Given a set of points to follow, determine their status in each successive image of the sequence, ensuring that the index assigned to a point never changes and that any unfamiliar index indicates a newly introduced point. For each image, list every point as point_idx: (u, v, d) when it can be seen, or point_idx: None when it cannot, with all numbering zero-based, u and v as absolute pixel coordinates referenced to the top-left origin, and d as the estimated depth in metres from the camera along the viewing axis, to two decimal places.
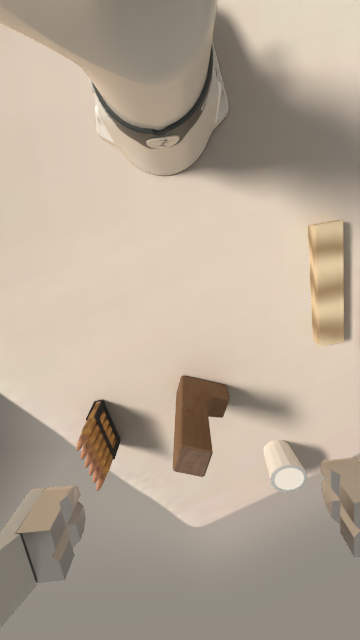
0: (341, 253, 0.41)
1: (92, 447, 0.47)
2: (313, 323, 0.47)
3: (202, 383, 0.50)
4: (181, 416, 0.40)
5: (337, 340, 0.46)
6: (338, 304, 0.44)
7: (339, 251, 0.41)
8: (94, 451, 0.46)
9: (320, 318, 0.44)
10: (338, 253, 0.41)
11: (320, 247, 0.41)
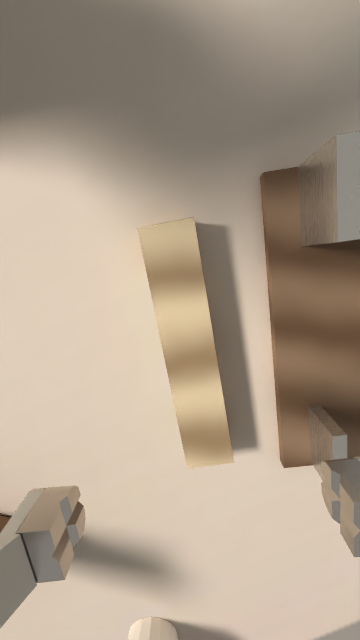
0: (201, 287, 0.19)
1: None
2: None
3: None
4: None
5: (220, 459, 0.23)
6: (211, 390, 0.21)
7: (196, 283, 0.19)
8: None
9: (179, 417, 0.22)
10: (195, 286, 0.19)
11: (155, 274, 0.19)
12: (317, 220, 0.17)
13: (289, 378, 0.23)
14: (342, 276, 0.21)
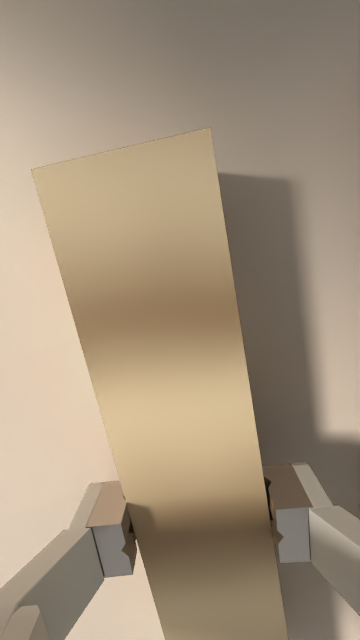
0: (232, 347, 0.07)
1: None
2: None
3: None
4: None
5: None
6: (254, 595, 0.08)
7: (218, 335, 0.07)
8: None
9: None
10: (213, 345, 0.07)
11: (95, 311, 0.07)
12: None
13: None
14: None
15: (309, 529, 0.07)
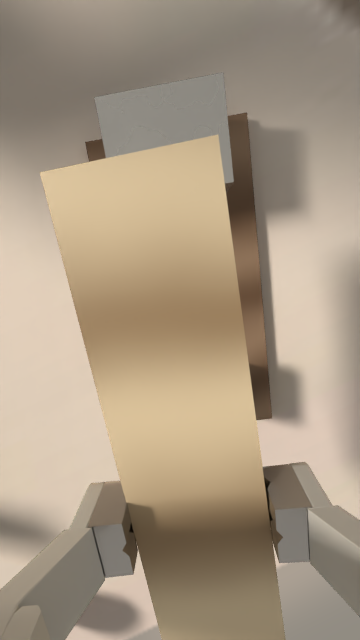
0: (235, 352, 0.07)
1: None
2: None
3: None
4: None
5: None
6: (252, 600, 0.08)
7: (221, 340, 0.07)
8: None
9: None
10: (217, 349, 0.07)
11: (100, 314, 0.07)
12: None
13: None
14: None
15: (308, 529, 0.07)
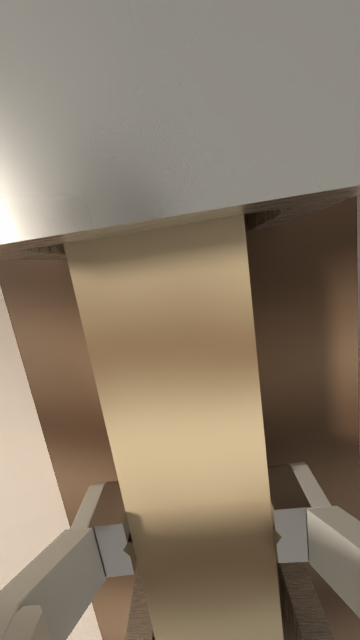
0: (247, 384, 0.07)
1: None
2: None
3: None
4: None
5: None
6: (255, 629, 0.08)
7: (234, 371, 0.06)
8: None
9: None
10: (229, 381, 0.07)
11: (110, 342, 0.06)
12: None
13: None
14: None
15: (307, 529, 0.07)
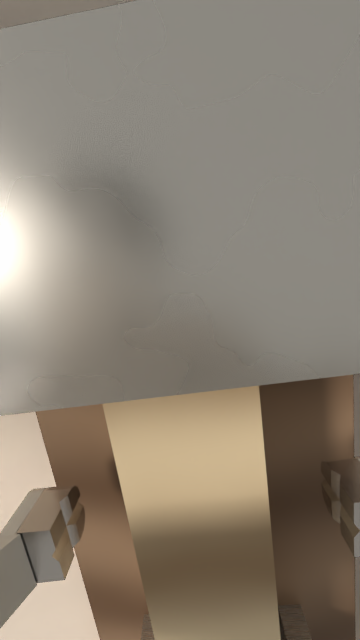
0: (248, 395, 0.07)
1: None
2: None
3: None
4: None
5: None
6: (253, 633, 0.08)
7: None
8: None
9: None
10: (229, 392, 0.07)
11: None
12: None
13: (101, 570, 0.12)
14: None
15: None
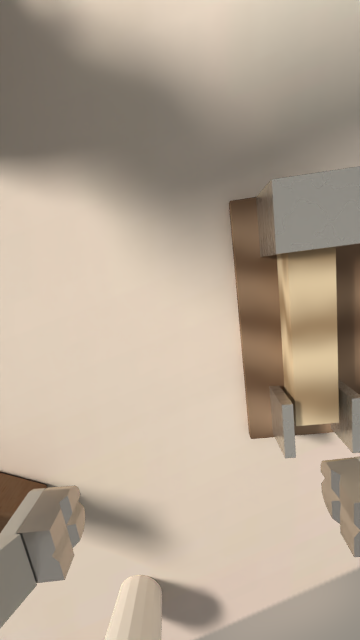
0: (332, 262, 0.23)
1: None
2: (286, 383, 0.27)
3: (2, 482, 0.32)
4: None
5: (327, 418, 0.26)
6: (328, 354, 0.24)
7: (328, 258, 0.23)
8: None
9: (296, 377, 0.25)
10: (327, 261, 0.23)
11: None
12: (266, 237, 0.23)
13: (253, 362, 0.28)
14: None
15: None
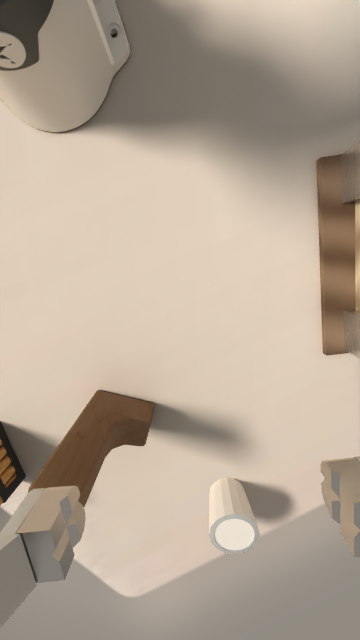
0: None
1: None
2: (359, 306, 0.35)
3: (121, 399, 0.39)
4: (61, 442, 0.28)
5: None
6: None
7: None
8: None
9: None
10: None
11: None
12: (355, 184, 0.30)
13: (332, 291, 0.35)
14: None
15: None
